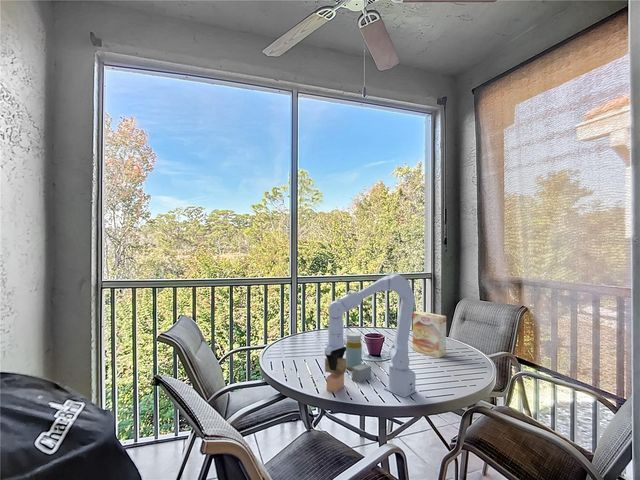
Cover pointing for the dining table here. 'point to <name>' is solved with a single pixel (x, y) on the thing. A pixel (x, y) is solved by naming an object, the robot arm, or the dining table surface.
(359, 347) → the bottle
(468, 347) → the dining table surface
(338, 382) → the terracotta brick
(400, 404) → the dining table surface
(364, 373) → the slate brick
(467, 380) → the dining table surface
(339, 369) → the walnut brick
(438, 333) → the coffeecake box
